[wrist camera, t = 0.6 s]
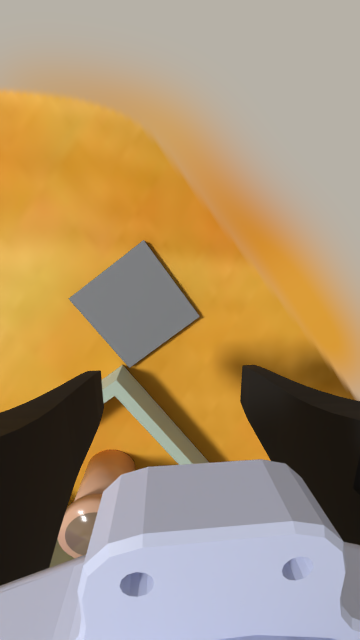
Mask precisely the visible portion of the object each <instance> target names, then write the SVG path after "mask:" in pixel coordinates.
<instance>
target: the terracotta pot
mask: <svg viewBox="0 0 360 640" xmlns="http://www.w3.org/2000/svg"><path fill="white" fill-rule="evenodd" d="M132 471H136V467H135V463H134V461H133V459H132V458H131V457H130V456H129V455H127V454H126V453H124V452H122V451H118V450H105V451H102V452H99V453H98V454H96V455H95V456H93V457H92V458H91V460H90V461H89V463H88V466H87V469H86V471H85V474H84V477H83V479H82V482H81V484H80V487H79V490H78V492H77V495H76V498H75V500H74V502H72V503H71V504H70V505H69V506H68V508H67V509H66V512H65V515H64V518H63V522H62V525H61V528H60V532H59V535H58V542H59V544H60V546H61V548H62V549H63V550H64V551H65V552H66V553H67V554H69V555H70V556H72V557H74V558H77V557H80V556H83V555H86V554H87V550H88V546H89V542H90V539H91V535H92V531H93V528H94V524H95V520H96V516H97V513H98V509H99V505H100V502H101V498H102V494H103V491H104V490H106V489H107V488H108V487H109V486H110V485H111V484H112V483H113V482H114V481H115V480H116V479H117V478H118V477H119V476H120V475H122V474H125V473H129V472H132Z"/></svg>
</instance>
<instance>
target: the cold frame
mask: <svg viewBox="0 0 360 640" xmlns="http://www.w3.org/2000/svg"><path fill="white" fill-rule="evenodd" d="M102 391H103V401H104V403H105V402H107V401H108V400H109V399H111V398H112V397H114V396H115V397H116V398H117V399H118V400H119V401H120V402H121V403H122V404H123V405H124V406H125V407H126V408H127V409H128V411H129V412H130V413H131V414H132V415H133V416H134V417H135V418H136V419H137V420H138V421H139V422H140V423H141V424H142V425H143V427H144V428H145V429H146V430H147V431H148V432H149V433H150V434H151V435H152V436H153V437H154V438H155V439H156V440H157V442H158V443H159V444H160V445H161V446H162V447H163V448H164V449H165V450H166V451H167V452H168V453H169V454H170V455H171V456H172V458H173V459H174V460H175V461H176V462H177V463H178V464H179V465H183V464H199V463H209V462H208V461H207V459H206V458H205V457H204V456H203V455H202V454H201V453H200V452H199V450H198V449H197V448H196V447H195V446H194V445H193V444H192V442H191V441H190V440H189V439H188V438H187V437H186V436H185V435H184V433H183V432H182V431H181V430H180V429H179V428H178V427H177V426H176V424H175V423H174V422H173V421H172V420H171V419H170V418H169V417H168V415H167V414H166V413H165V412H164V411H163V410H162V409H161V407H160V406H159V405H158V404H157V403H156V402H155V401H154V400H153V398H152V397H151V396H150V395H149V394H148V393H147V392H146V391H145V389H144V388H143V387H142V386H141V385H140V384H139V383H138V382H137V380H136V379H135V378H134V377H133V376H132V375H131V374H130V372H129V371H128V370H127V369H126V368H125V367H124V366H123V365H122V366H120V367H119V368H117V369H116V370H115V371H113V372H112V373H111V374H109V375H108V376H107V377H105V378H104V379H102ZM72 559H75V558H74V557H72V556H70V555H69V554H67V553H66V552H65V551H64V550H63V549H62V548H61V546H60V544H59V542H58V538H57V542H56V545H55V549H54V552H53V556H52V559H51V563H50V567H53V566H56V565H58V564H61V563H64V562H66V561H69V560H72ZM50 567H49V568H50Z"/></svg>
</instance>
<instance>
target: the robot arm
mask: <svg viewBox="0 0 360 640" xmlns="http://www.w3.org/2000/svg"><path fill="white" fill-rule="evenodd" d="M240 401H241V404H242V407H243V409H244V412H245V414H246V417H247V419H248V421H249V423H250V424H251V426H252V428H253V430H254V432H255V433H256V435H257V437H258V439H259V440H260V442H261V444H262V446H263V447H264V449H265V451H266V453H267V454H268V456H269V458H270V460H271V461H267V460H245V461H229V462H214V463H199V464H183V465H168V466H153V467H146V468H142V469H139V470H136V471H132V472H129V473H125V474H122V475H120V476H119V477H118V478H117V479H116V480H115V481H114V482H113V483H112V484H111V485H110V486H109V487H108V488H107V489H106V490H104V491H103V494H102V498H101V502H100V505H99V509H98V513H97V516H96V520H95V524H94V528H93V531H92V535H91V539H90V542H89V546H88V550H87V554H86V555H83V556H80V557H77V558H75V559H72V560H69V561H66V562H64V563H61V564H58V565H56V566H53V567H50V563H51V559H52V556H53V552H54V549H55V545H56V542H57V538H58V535H59V532H60V528H61V525H62V522H63V518H64V515H65V512H66V509H67V505H68V502H69V499H70V496H71V493H72V490H73V487H74V484H75V481H76V478H77V476H78V473H79V471H80V468H81V466H82V464H83V461H84V459H85V457H86V454H87V452H88V450H89V448H90V445H91V443H92V441H93V439H94V436H95V434H96V432H97V429H98V427H99V424H100V420H101V417H102V413H103V409H104V401H103V391H102V380H101V371H87V372H85V373H82V374H80V375H79V376H77V377H75V378H73V379H71V380H70V381H68V382H66V383H64V384H62V385H61V386H59V387H57V388H55V389H53V390H51V391H49V392H47V393H45V394H43V395H41V396H39V397H37V398H35V399H33V400H31V401H29V402H27V403H24V404H22V405H19V406H17V407H15V408H12V409H10V410H7V411H4V412H1V413H0V640H360V401H355V400H351V399H347V398H343V397H339V396H335V395H332V394H328V393H325V392H322V391H319V390H316V389H313V388H310V387H307V386H304V385H302V384H299V383H297V382H294V381H292V380H289V379H287V378H285V377H282V376H280V375H278V374H276V373H273V372H271V371H269V370H267V369H264V368H262V367H259V366H256V365H243V366H242V383H241V400H240ZM49 567H50V568H49Z"/></svg>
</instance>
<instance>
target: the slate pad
mask: <svg viewBox="0 0 360 640" xmlns="http://www.w3.org/2000/svg"><path fill="white" fill-rule="evenodd" d="M69 300H70V301H71V302H72V303H73V304H74V305H75V307H76V308H77V309H78V310H79V311H80V312H81V313H82V314H83V316H84V317H85V318H86V319H87V320H88V321H89V322H90V324H91V325H92V326H93V327H94V328H95V329H96V330H97V332H98V333H99V334H100V335H101V336H102V337H103V338H104V339H105V341H106V342H107V343H108V344H109V345H110V346H111V347H112V349H113V350H114V351H115V352H116V353H117V354H118V355H119V357H120V358H121V359H122V360H123V361H124V362H125V363H126V364H127V366H128V367H129V368H130V367H131V366H133V365H134V364H135V363H137V362H138V361H139V360H141V359H142V358H144V357H145V356H146V355H148V354H149V353H150V352H152V351H153V350H155V349H156V348H157V347H159V346H160V345H161V344H163V343H164V342H165V341H167V340H168V339H170V338H171V337H172V336H174V335H175V334H176V333H178V332H179V331H181V330H182V329H183V328H185V327H186V326H187V325H189V324H190V323H192V322H193V321H194V320H196V319H197V318H198V317H200V316H199V315H198V313H197V312H196V311H195V309H194V308H193V307H192V305H191V304H190V303H189V301H188V300H187V298H186V297H185V296H184V294H183V293H182V292H181V290H180V289H179V288H178V286H177V285H176V284H175V282H174V281H173V279H172V278H171V277H170V275H169V274H168V273H167V271H166V270H165V269H164V267H163V266H162V264H161V263H160V262H159V260H158V259H157V258H156V256H155V255H154V254H153V252H152V251H151V249H150V248H149V247H148V245H147V244H146V243H145V241H144V240H143V241H142V242H141V243H139V244H138V245H137V246H136V247H134V248H133V249H132V250H130V251H129V252H128V253H127V254H125V255H124V256H123V257H122V258H120V259H119V260H118V261H116V262H115V263H114V264H113V265H111V266H110V267H109V268H107V269H106V270H105V271H104V272H102V273H101V274H100V275H98V276H97V277H96V278H95V279H93V280H92V281H91V282H89V283H88V284H87V285H86V286H84V287H83V288H82V289H81V290H79V291H78V292H77V293H75V294H74V295H73V296H72V297H70V298H69Z"/></svg>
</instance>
